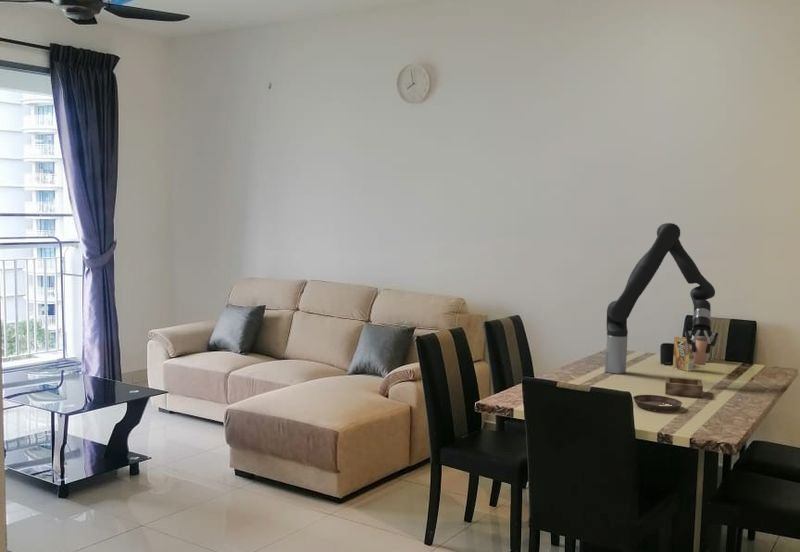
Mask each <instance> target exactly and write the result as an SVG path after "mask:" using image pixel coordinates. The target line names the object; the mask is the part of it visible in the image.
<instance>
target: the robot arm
mask: <svg viewBox="0 0 800 552" xmlns="http://www.w3.org/2000/svg"><path fill="white" fill-rule="evenodd" d="M656 236H657V237H656V239H655V241H654V243H653V244H652V246H651V247H650V249H648V250H647V252H646V253H645V254H643V256H641V258H640V259H639V260H638V262H637V263H636V264H635V266H634V268H633V269H632V271H631V272H630V274H629V277H628V280H627V282H626V286H625V287H624V290H623V291H622V292H621V294H620V296H619V297H618V298H617V299H616V300H614V301H611V302H610V303H609V304H608V306H607V309H606V346H605V347H606V348H605V349H606V350H605V358H604V359H605V360H604V361H605V362H604V372H605V373H610V374H617V375H619V374H626V371H627V355H628V351H627V350H628V334H629V333H628V332H629V331H628V325H627V324H628V323H627V322H628V320H627V319H628V318H629V316H630V315H631V313H632V311H633V309H634V307H635V304H636V303H637V301H638V299H639V298H640V296H641V295H642V294H643V293H644V291H645V290H646V289H647V287H648V285H649V284H650V283H651V281H652V280H653V278H654V277H655V275H656V274H657V271H658V270H659V268H660V266H661V265H662V263H663V261H664V259H665V257H666V255H667V254H668V252H669V253H670V255H671V257H672V258H673V260H674V261H675V263H676V265H677V267H678V269H679V270H680V272H681V274H682V275H683V278H684V279H685V281H686V282H687V284H689V285H690V284H691V285H692V284H697V285H698V286H695V287H693V288H692V289H691V290H690V293H689V294H690V295H689V296H690V297H691V301H692V304H693V305H692V306H693V314H692V328H693V329H691V330H688V329H685V331H684V337H685V338H686V340H687V343H688V344H691V345H692V351H693V352H695V347H696V339H697V336H705V337H707V340H708V342H707V354H708V353H710V354H711V349H712V347H715V346H716V343H717V341H718V337H719V332H712V313H711V311H712V310H711V309H712V308H711V303H710V301H708V300H709V299H712V298H713V297H715V295H716V290H715V288H714V286H713V285H712V283H710V282H709V280H707V279H706V278H705V277H704V276H703V274H702V273H701V272H700V271H701V270H700V269H699V267H698V266H697V265H696V263H695V262H694V260H693V259H692V257H691V256H690V255H689V253H687V251H686V249H685V248H684V246H683V245H682V242H681V241H680V237H681V229H680V227H679V226H678V225H677V224H676V223H674V222H673V223H672V222H669V223H667V222H665V223H663V224H660V225H659V226H658V227H657V229H656ZM692 335H693V336H694V339H693V340H691V339H692V337H691V336H692ZM710 336H711V338H712V339H713V340H712V341H711V342H710V340H709V337H710Z"/></svg>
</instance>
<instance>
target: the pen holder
mask: <svg viewBox="0 0 800 552" xmlns="http://www.w3.org/2000/svg"><path fill="white" fill-rule="evenodd" d="M659 347H660V349H659V350H660V354H659V355H660V357H659V358H660V361H659V362H660V365H662V364H664V365H663V366H667V365H673V356H674V342H673V343H672V342H670V343H669V342H663V343H661V344H660V346H659Z"/></svg>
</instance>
